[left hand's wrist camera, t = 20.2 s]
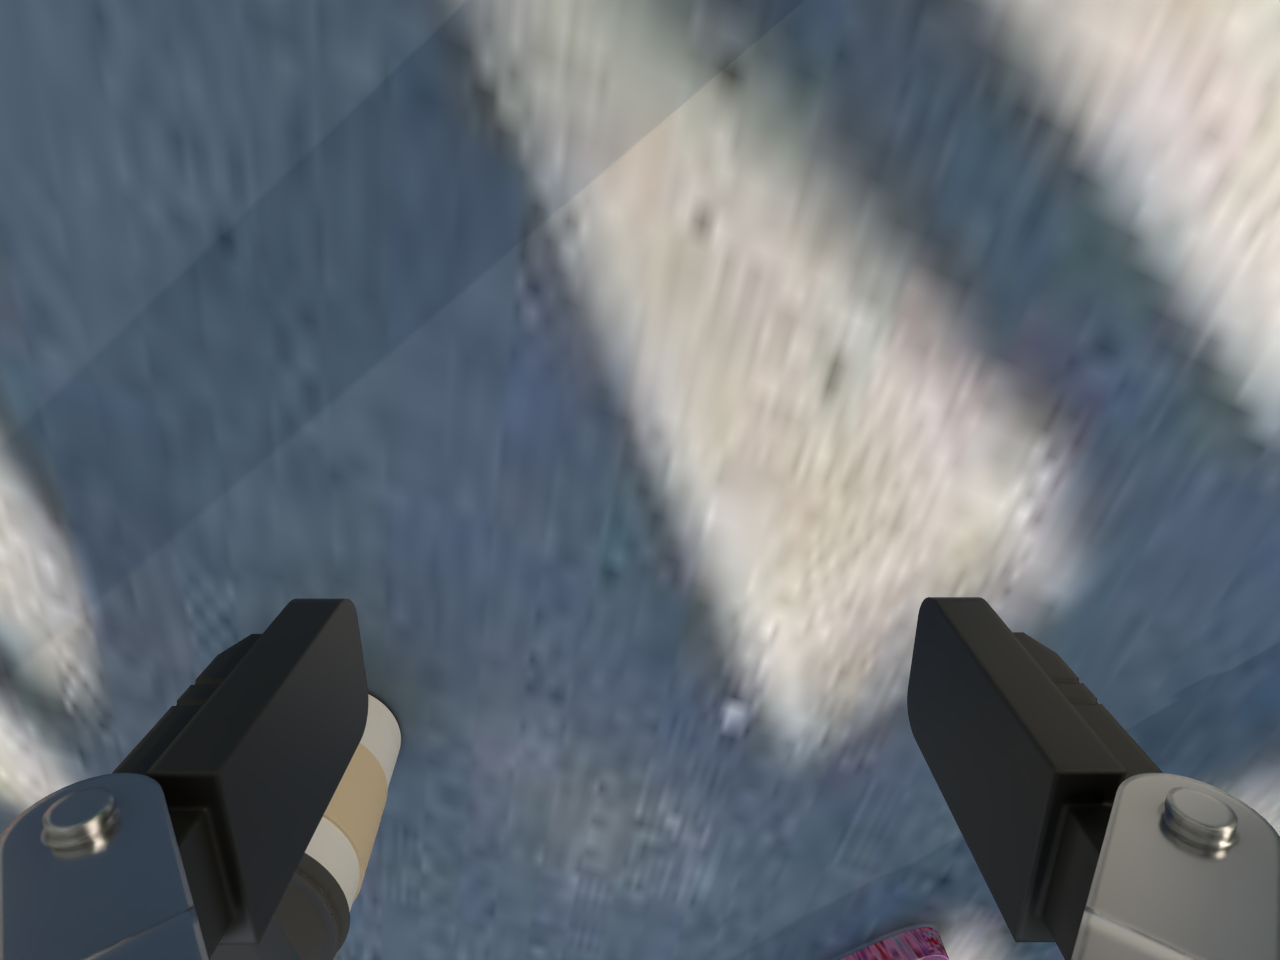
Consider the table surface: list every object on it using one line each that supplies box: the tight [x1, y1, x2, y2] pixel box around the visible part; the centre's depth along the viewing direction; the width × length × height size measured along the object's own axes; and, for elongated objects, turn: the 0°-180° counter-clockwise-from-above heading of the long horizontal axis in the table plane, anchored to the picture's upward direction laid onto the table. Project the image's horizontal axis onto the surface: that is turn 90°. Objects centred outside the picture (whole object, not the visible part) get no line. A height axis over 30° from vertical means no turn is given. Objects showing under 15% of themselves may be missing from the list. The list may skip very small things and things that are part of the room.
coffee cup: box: [210, 694, 401, 960], centre depth 41 cm, size 9×9×15 cm
